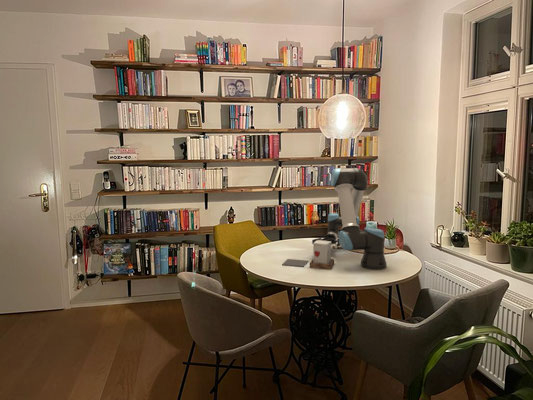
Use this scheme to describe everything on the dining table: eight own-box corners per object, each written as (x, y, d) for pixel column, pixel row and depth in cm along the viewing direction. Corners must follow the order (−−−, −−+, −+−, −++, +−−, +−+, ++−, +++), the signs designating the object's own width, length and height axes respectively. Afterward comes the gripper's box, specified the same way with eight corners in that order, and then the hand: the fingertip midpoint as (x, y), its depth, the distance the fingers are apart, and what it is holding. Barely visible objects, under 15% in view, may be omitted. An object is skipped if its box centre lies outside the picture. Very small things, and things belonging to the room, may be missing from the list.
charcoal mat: (308, 261, 241) (308, 260, 241) (303, 267, 229) (303, 266, 229) (287, 259, 245) (287, 258, 245) (281, 265, 233) (281, 264, 233)
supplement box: (312, 266, 230) (312, 242, 228) (317, 262, 238) (317, 239, 236) (326, 268, 225) (327, 244, 224) (331, 264, 233) (331, 241, 232)
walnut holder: (334, 263, 235) (334, 258, 235) (330, 269, 223) (331, 264, 223) (314, 261, 240) (314, 257, 239) (309, 267, 228) (309, 262, 227)
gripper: (348, 244, 257) (344, 252, 237) (313, 242, 265) (306, 249, 245) (349, 234, 256) (345, 241, 236) (313, 231, 264) (306, 238, 244)
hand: (325, 245), depth 240 cm, fingers open, 13 cm apart
